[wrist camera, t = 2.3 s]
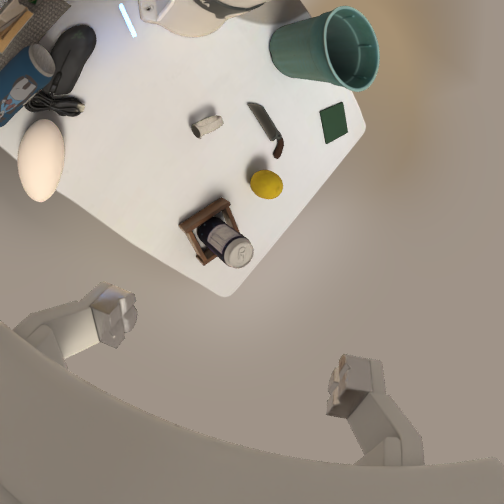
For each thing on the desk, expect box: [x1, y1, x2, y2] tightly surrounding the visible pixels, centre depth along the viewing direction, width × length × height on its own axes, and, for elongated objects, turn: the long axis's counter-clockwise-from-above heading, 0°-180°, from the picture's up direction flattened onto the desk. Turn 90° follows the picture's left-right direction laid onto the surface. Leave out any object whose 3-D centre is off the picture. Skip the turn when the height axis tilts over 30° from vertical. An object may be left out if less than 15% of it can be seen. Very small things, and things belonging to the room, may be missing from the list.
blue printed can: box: [0, 44, 55, 127], centre depth 22 cm, size 7×7×12 cm
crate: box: [179, 197, 240, 266], centre depth 56 cm, size 9×10×3 cm
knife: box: [248, 103, 284, 159], centre depth 53 cm, size 14×4×1 cm, turn 36°
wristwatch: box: [191, 115, 224, 139], centre depth 44 cm, size 3×5×5 cm, turn 111°
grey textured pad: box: [0, 0, 71, 71], centre depth 16 cm, size 11×15×8 cm
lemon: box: [250, 170, 283, 199], centre depth 55 cm, size 6×6×8 cm
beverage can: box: [198, 217, 254, 268], centre depth 53 cm, size 6×6×12 cm
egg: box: [18, 119, 65, 202], centre depth 30 cm, size 7×7×12 cm
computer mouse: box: [24, 25, 96, 117], centre depth 27 cm, size 10×15×4 cm
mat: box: [320, 102, 348, 144], centre depth 63 cm, size 8×8×1 cm
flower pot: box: [270, 6, 380, 92], centre depth 42 cm, size 16×16×16 cm
